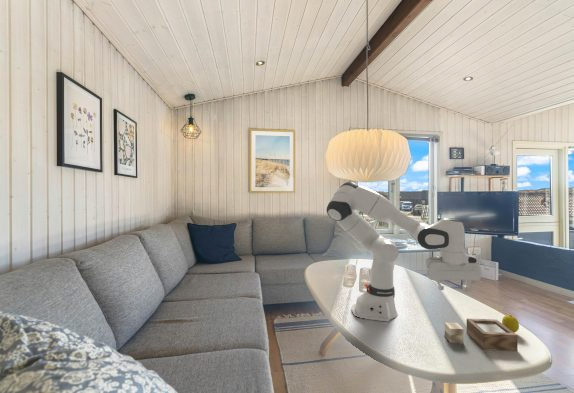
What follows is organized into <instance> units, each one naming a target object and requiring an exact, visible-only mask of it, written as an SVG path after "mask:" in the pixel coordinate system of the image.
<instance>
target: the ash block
mask: <svg viewBox="0 0 574 393" xmlns="http://www.w3.org/2000/svg"><path fill="white" fill-rule="evenodd" d="M444 337H445V339H447V341H448V342H449V343H451V344H464V340H465V339H464V328H463V327H462V326H461V325H460V324H459V323H458V322H444Z"/></svg>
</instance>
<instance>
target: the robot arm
mask: <svg viewBox="0 0 574 393" xmlns="http://www.w3.org/2000/svg"><path fill="white" fill-rule="evenodd" d="M357 211H359V212H361V213H363V214H364V215H366V216H368V217H369V218H370V219H373V220H375V221H378V222H380V223H391V224H393V225H395V226H397V227H399V228H401V229H402V230H404V231H406V232H408V233H409V234H410V235H411V237H412V238H413V239H414V241H416V243H418V245H419V246H420V247H421V248H423V249H425V250H437V249H439V254H440V255H439V256H430V257H428V258H426V260H425V264H426V265H425V266H426V269H425V276H426V277H427V278H428V279H429V280H433V281H435V282H436V284H437V286H438V290H439V291H444V290H445V289H444V288H445V286H444V285H443V284H441V282H442V281H465V283H464V284H462V285H461V286H462V288H461V289H462V290H463V291H469V287H470V286H471V284H472V281H480V280H481V279H482V277H483V276H482V267H481V265H480V264H479V263H480V259H479V257H476V256H474V255H472V254H469V253H467V252H466V249H465V242H466V233H465V226H464V223H463V221H461V220H459V219H454V218H450V217H441V219H439V220H438V221H436V222H433V223H428V222H424V221H418V220H415V219H414V218H412V217H410V216H408V215H406V214H405V213H403V212H402V211H400V210H399V209H398V208H397V207H396V205H395V204H394V203H393V202H391V200H390V199H388V198H387V197H385V196H384V195H382V194H381V193H378V192H376V191H374V190H373V189H370V188H367V187H364V186H358V185H357V183H354V182H353V181H346V182H344V183H343V184H342V185H340V186H339V188H338V189H337V190H336V191H335V193H334V194H333V196H332V198H331V200H330V201H329V202H328V203H327V206H326V214H327V215H328V216H329V217H330V219H332V220H334V221H335V222H336V223H337V224H338V225H339V226H340V228H342V229H343V230H344V232H346V233H347V234H348V236H351V237H352V238H353V239H354V240H355V241H356V242H357V243H358V244H359V245H361V246H362V248H364V249H365V250H366V251H367V252H368V253H370V255H372V264H371V268H370V270H369V271H370V283H367V282H366V283H365V284H364V286H365V288H366V291H365V292H364V293H362V294H360V295H359V296H357V298H356V302H355V304H352V306H351V313H352V312H353V313H352V314H354V315H355V316H357V317H360V318H359V319H362V318H365V319H364V320H371V321H378V322H390V321H391V320H392V319H396V317H398V311H397V308H396V302H395V298H396V297H395V296H396V294H395V293H396V291H395V290H396V289H395V286H394V270H395V264H396V261H397V260H398V258H399V249H398V248H397V246H396V245H395V243H394V242H393V241H391V240H389V239H387V238H385V237H384V236H383V235H381V234H380V232H378V231H377V229H376V228H374V226H373V225H372V224H370V222H368V221H367V220H366V219H365V218H364V217H363V216H362V215H361V214H359V212H357ZM354 315H353V316H354ZM355 316H354V317H355ZM357 317H356V318H357Z"/></svg>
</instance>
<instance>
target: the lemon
mask: <svg viewBox="0 0 574 393" xmlns="http://www.w3.org/2000/svg"><path fill="white" fill-rule="evenodd" d="M501 323H502V324H503V325H505V326H506V327H507V328H509V329H510V330H511V331H513V332H514V333H516V332H518V331H519V330H520V323H519V321H518V319H517V318H516V317H515V316H514V315H511V314H505V315H504V316H503V317H502V320H501Z"/></svg>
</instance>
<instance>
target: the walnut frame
mask: <svg viewBox="0 0 574 393" xmlns="http://www.w3.org/2000/svg"><path fill="white" fill-rule="evenodd" d="M466 334H467V335H469V336H470V337H471V339H472V340H474V342H475V343H477V344H478V345H479V347H480V348H482V349H483V350H489V351H490V350H493V351H508V352H509V351H510V352H511V351H512V352H518V334H516V332H513V331H511V330H510V329H509V328H507V327H506V326H505V325H503V324H502V321H501V322H500V321H499V320H498V319H492V318H491V319H490V318H466Z"/></svg>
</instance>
